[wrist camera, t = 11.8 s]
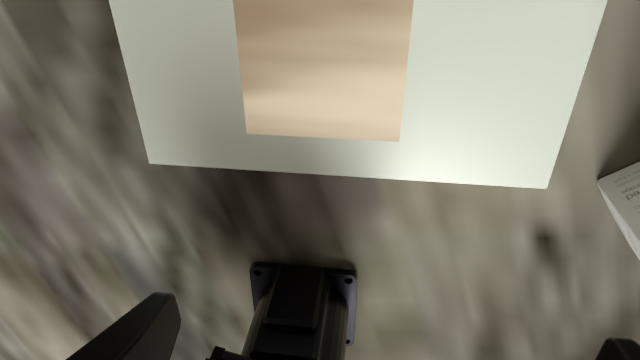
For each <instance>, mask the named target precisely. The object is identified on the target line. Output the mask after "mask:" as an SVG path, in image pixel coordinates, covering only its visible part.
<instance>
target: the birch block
mask: <svg viewBox="0 0 640 360" xmlns="http://www.w3.org/2000/svg"><path fill="white" fill-rule="evenodd" d="M413 2H414V0H233V7H234V17H235V26H236V36H237V45H238V55H239V64H240V74H241V83H242V93H243V102H244V112H245V121H246V130H247V134H262V135H280V136H298V137H316V138H334V139H353V140H371V141H389V142H399V139H400V130H401V120H402V110H403V100H404V90H405V81H406V71H407V61H408V51H409V42H410V32H411V22H412V12H413Z"/></svg>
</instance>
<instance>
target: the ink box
mask: <svg viewBox="0 0 640 360" xmlns="http://www.w3.org/2000/svg"><path fill="white" fill-rule="evenodd" d="M597 184H598V186H599V188H600V191H601V193H602V195H603V197H604V199H605V202H606V204H607V206H608V208H609V209H610V211H611V213H612V215H613V217H614V219H615V220H616V222H617V224H618V226H619V228H620V229H621V231H622V233H623V235H624V236H625V238H626V240H627V242H628V243H629V245H630V246H631V248H632V249H633V251H634V252H635V254H636V255H637V257H638V258H639V260H640V162H637V163H635V164H632V165H630V166H628V167H626V168H624V169H621V170H619V171H617V172H614V173H612V174H610V175H608V176H605V177H603V178H601V179H599V180H598V182H597Z"/></svg>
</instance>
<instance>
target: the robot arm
mask: <svg viewBox="0 0 640 360" xmlns="http://www.w3.org/2000/svg"><path fill="white" fill-rule="evenodd" d="M257 270H260V271H257ZM347 278H351V279H347ZM250 280H251V288H252V296H253V303H254V311H255V314H254V317H253V320H252V323H251V326H250V329H249V332H248V335H247V338H246V341H245V345H244V348H243V351H242V354H241V355H239V354H236V353H232V352H229V351H225V348H221V347H218V346H215V348H214V350H213V352H212V355H211V357H210V359H209V358H206V360H344V359H345V348H346V346H351V345H353V343H354V332H355V313H356V295H357V274H356V273H355V272H354V271H352V270H344V269H332V268H321V267H310V266H298V265H287V264H276V263H264V262H255V263H253V264H252V265H251V268H250ZM180 323H181V318H180V314H179V310H178V306H177V302H176V299H175V296H174V295H173V294H172V293H166V292H155V293H153V294H151V295H150V296H148V297H147V298H146V299H144V300H143V301H142V302H141V303H139V304H138V305H137V306H135V307H134V308H133V309H131V310H130V311H129V312H127V313H126V314H125V315H124V316H122V317H121V318H120V319H118V320H117V321H116V322H114V323H113V324H112V325H111V326H109V327H108V328H107V329H105V330H104V331H103V332H101V333H100V334H99V335H97V336H96V337H95V338H94V339H92V340H91V341H90V342H88V343H87V344H86V345H84V346H83V347H82V348H80V349H79V350H78V351H77V352H75V353H74V354H73V355H71V356H70V357H69V358H67V359H66V360H170V357H171V354H172V351H173V348H174V345H175V342H176V338H177V335H178V332H179V329H180ZM595 360H640V345H639V344H638V343H636V342H635V341H633V340H632V339H629V338H620V337H609V338H607V339H606V340H605V341H604V343H603V345H602V347H601V349H600V351H599V353H598V355H597V356H596V358H595Z"/></svg>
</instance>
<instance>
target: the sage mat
mask: <svg viewBox="0 0 640 360" xmlns="http://www.w3.org/2000/svg"><path fill="white" fill-rule="evenodd" d="M607 1H608V0H414V2H413V12H412V22H411V32H410V42H409V51H408V61H407V71H406V81H405V90H404V100H403V110H402V120H401V130H400V139H399V142H389V141H371V140H353V139H334V138H316V137H298V136H280V135H262V134H247V130H246V121H245V112H244V102H243V93H242V83H241V74H240V64H239V55H238V45H237V36H236V26H235V17H234V7H233V0H109V3H110V7H111V11H112V15H113V20H114V24H115V28H116V32H117V36H118V40H119V44H120V48H121V52H122V56H123V60H124V64H125V68H126V72H127V76H128V80H129V84H130V88H131V92H132V96H133V100H134V104H135V108H136V112H137V116H138V120H139V124H140V128H141V132H142V136H143V140H144V144H145V148H146V152H147V156H148V160H149V164H162V165H178V166H194V167H209V168H225V169H241V170H257V171H272V172H288V173H304V174H320V175H335V176H351V177H367V178H382V179H398V180H414V181H430V182H445V183H461V184H477V185H493V186H508V187H524V188H540V189H547V186H548V183H549V180H550V177H551V174H552V171H553V168H554V165H555V161H556V158H557V155H558V152H559V149H560V146H561V143H562V140H563V137H564V134H565V131H566V127H567V124H568V121H569V118H570V115H571V112H572V109H573V106H574V103H575V100H576V97H577V93H578V90H579V87H580V84H581V81H582V78H583V75H584V72H585V69H586V66H587V63H588V60H589V56H590V53H591V50H592V47H593V44H594V41H595V38H596V35H597V32H598V29H599V26H600V22H601V19H602V16H603V13H604V10H605V7H606V4H607Z"/></svg>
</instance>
